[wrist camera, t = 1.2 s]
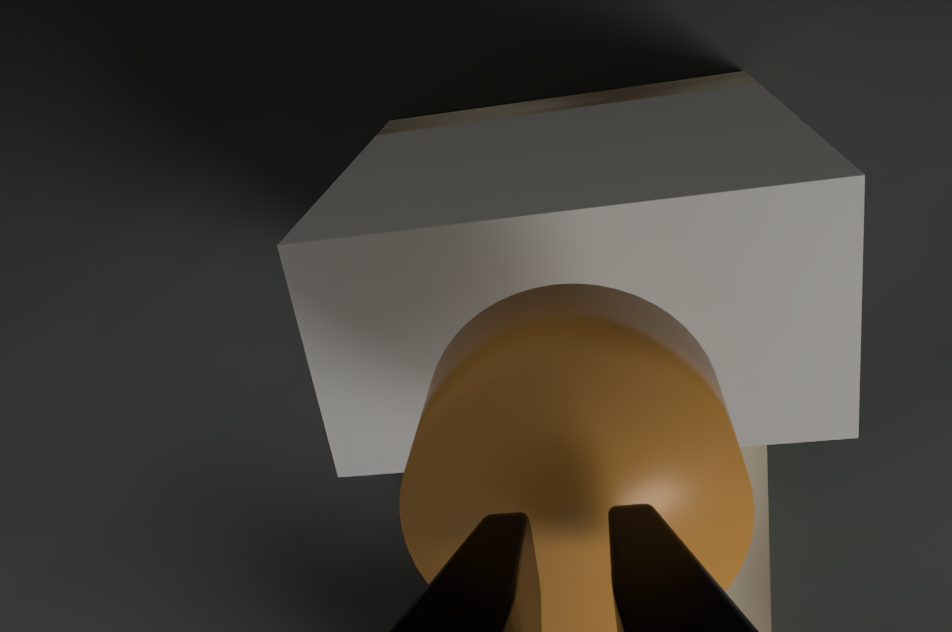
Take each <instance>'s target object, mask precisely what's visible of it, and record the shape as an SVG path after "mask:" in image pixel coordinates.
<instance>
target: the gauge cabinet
mask: <svg viewBox="0 0 952 632" xmlns="http://www.w3.org/2000/svg"><path fill="white" fill-rule="evenodd" d="M864 192H865V175H864V174H863V173H862V172H861V171H860V170H859V169H857V168H856V167H855V166H854V165H853V164H852V163H850V162H849V161H848V160H847V159H846V158H845V157H844V156H842V155H841V154H840V153H839V152H838V151H837V150H835V149H834V148H833V147H832V146H831V145H830V144H828V143H827V142H826V141H825V140H824V139H823V138H821V137H820V136H819V135H818V134H817V133H816V132H814V131H813V130H812V129H811V128H810V127H809V126H808V125H806V124H805V123H804V122H803V121H802V120H801V119H799V118H798V117H797V116H796V115H795V114H794V113H792V112H791V111H790V110H789V109H788V108H787V107H785V106H784V105H783V104H782V103H781V102H780V101H778V100H777V99H776V98H775V97H774V96H773V95H771V94H770V93H769V92H768V91H767V90H766V89H765V88H763V87H762V86H761V85H760V84H759V83H752V84H745V85H737V86H730V87H723V88H716V89H708V90H701V91H694V92H687V93H679V94H672V95H665V96H658V97H650V98H643V99H636V100H629V101H621V102H614V103H607V104H600V105H592V106H585V107H578V108H571V109H563V110H556V111H549V112H542V113H534V114H527V115H520V116H513V117H505V118H498V119H491V120H484V121H476V122H469V123H462V124H455V125H447V126H440V127H433V128H426V129H418V130H411V131H404V132H397V133H389V134H382V135H376V136H375V137H374V138H373V139H372V141H371V142H370V143H369V144H368V145H367V146H366V147H365V148H364V149H363V151H362V152H361V153H360V154H359V155H358V156H357V157H356V158H355V159H354V161H353V162H352V163H351V164H350V165H349V166H348V167H347V168H346V169H345V171H344V172H343V173H342V174H341V175H340V176H339V177H338V178H337V179H336V181H335V182H334V183H333V184H332V185H331V186H330V187H329V188H328V189H327V191H326V192H325V193H324V194H323V195H322V196H321V197H320V198H319V199H318V201H317V202H316V203H315V204H314V205H313V206H312V207H311V208H310V209H309V211H308V212H307V213H306V214H305V215H304V216H303V217H302V218H301V219H300V221H299V222H298V223H297V224H296V225H295V226H294V227H293V228H292V229H291V231H290V232H289V233H288V234H287V235H286V236H285V237H284V238H283V239H282V241H281V242H280V243H279V244H278V245H277V247H278V251H279V255H280V258H281V262H282V266H283V270H284V274H285V277H286V281H287V285H288V289H289V292H290V296H291V300H292V304H293V308H294V311H295V315H296V319H297V323H298V327H299V330H300V334H301V338H302V342H303V346H304V349H305V353H306V357H307V361H308V365H309V368H310V372H311V376H312V380H313V384H314V387H315V391H316V395H317V399H318V403H319V406H320V410H321V414H322V418H323V422H324V425H325V429H326V433H327V437H328V441H329V444H330V448H331V452H332V456H333V460H334V463H335V467H336V471H337V475H338V477H349V476H362V475H376V474H389V473H402V472H404V470H405V467H406V464H407V460H408V457H409V454H410V450H411V447H412V444H413V440H414V437H415V434H416V430H417V427H418V424H419V420H420V417H421V414H422V410H423V407H424V404H425V400H426V397H427V394H428V390H429V387H430V384H431V381H432V378H433V375H434V372H435V369H436V366H437V364H438V362H439V360H440V358H441V356H442V354H443V352H444V350H445V349H446V347H447V346H448V344H449V343H450V342H451V340H452V339H453V337H454V336H455V335H456V334H457V333H458V332H459V331H460V330H461V329H462V328H463V327H464V325H465V324H466V323H467V322H469V321H470V320H471V319H472V318H474V317H475V316H476V315H477V314H479V313H480V312H481V311H483V310H484V309H486V308H488V307H489V306H491V305H493V304H494V303H496V302H498V301H500V300H502V299H505V298H507V297H509V296H511V295H514V294H516V293H519V292H523V291H526V290H529V289H533V288H537V287H543V286H549V285H555V284H575V283H576V284H590V285H599V286H604V287H609V288H614V289H618V290H621V291H624V292H627V293H630V294H633V295H636V296H638V297H641V298H643V299H645V300H647V301H649V302H651V303H653V304H655V305H657V306H658V307H660V308H661V309H663V310H664V311H666V312H667V313H669V314H670V315H672V316H673V317H674V318H675V319H676V320H678V321H679V322H680V323H681V324H682V325H683V326H685V327H686V328H687V330H688V331H689V332H690V333H691V334H692V335H693V336H694V337H695V339H696V340H697V341H698V342H699V344H700V345H701V347H702V348H703V350H704V351H705V353H706V354H707V356H708V358H709V360H710V362H711V364H712V366H713V368H714V371H715V373H716V376H717V379H718V382H719V385H720V388H721V392H722V395H723V398H724V401H725V404H726V407H727V410H728V413H729V416H730V419H731V422H732V426H733V429H734V432H735V435H736V438H737V441H738V444H739V447H745V446H759V445H772V444H785V443H798V442H811V441H825V440H838V439H851V438H858V431H859V391H860V351H861V312H862V272H863V232H864Z"/></svg>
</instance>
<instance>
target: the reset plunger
mask: <svg viewBox="0 0 952 632" xmlns="http://www.w3.org/2000/svg"><path fill="white" fill-rule="evenodd" d="M632 504H649V505H651V506H653V507H654V508H655V509H656V510H657V512H658V513H659V514H660V515H661V516H662V518H663V519H664V520H665V521H666V522H667V523H668V525H669V526H670V527H671V528H672V529H673V531H674V532H675V533H676V534H677V535H678V536H679V538H680V539H681V540H682V541H683V542H684V544H685V545H686V546H687V547H688V548H689V550H690V551H691V552H692V553H693V554H694V555H695V557H696V558H697V559H698V560H699V561H700V563H701V564H702V565H703V566H704V567H705V568H706V570H707V571H708V572H709V573H710V574H711V576H712V577H713V578H714V579H715V580H716V582H717V583H718V584H719V585H720V586H721V587H722V589H723V590H724V591H726V589H727V588H728V587H729V586H730V584H731V583H732V582H733V580H734V579H735V577H736V575H737V573H738V572H739V570H740V568H741V567H742V565H743V562H744V560H745V557H746V555H747V552H748V550H749V547H750V543H751V538H752V534H753V529H754V512H755V507H754V499H753V490H752V486H751V483H750V479H749V476H748V472H747V469H746V466H745V463H744V460H743V457H742V453H741V450H740V447H739V444H738V441H737V438H736V435H735V432H734V429H733V426H732V422H731V419H730V416H729V413H728V410H727V407H726V404H725V401H724V398H723V395H722V392H721V388H720V385H719V382H718V379H717V376H716V373H715V371H714V368H713V366H712V364H711V362H710V360H709V358H708V356H707V354H706V353H705V351H704V350H703V348H702V347H701V345H700V344H699V342H698V341H697V340H696V339H695V337H694V336H693V335H692V334H691V333H690V332H689V331H688V330H687V328H686V327H685V326H683V325H682V324H681V323H680V322H679V321H678V320H676V319H675V318H674V317H673V316H672V315H670V314H669V313H667V312H666V311H664V310H663V309H661V308H660V307H658V306H657V305H655V304H653V303H651V302H649V301H647V300H645V299H643V298H641V297H638V296H636V295H633V294H630V293H627V292H624V291H621V290H618V289H614V288H609V287H604V286H599V285H590V284H576V283H575V284H555V285H549V286H543V287H537V288H533V289H529V290H526V291H523V292H519V293H516V294H514V295H511V296H509V297H507V298H505V299H502V300H500V301H498V302H496V303H494V304H493V305H491V306H489V307H488V308H486V309H484V310H483V311H481V312H480V313H479V314H477V315H476V316H475V317H474V318H472V319H471V320H470V321H469V322H467V323H466V324H465V325H464V327H463V328H462V329H461V330H460V331H459V332H458V333H457V334H456V335H455V336H454V337H453V339H452V340H451V342H450V343H449V344H448V346H447V347H446V349H445V350H444V352H443V354H442V356H441V358H440V360H439V362H438V364H437V366H436V369H435V372H434V375H433V378H432V381H431V384H430V387H429V390H428V394H427V397H426V400H425V404H424V407H423V410H422V414H421V417H420V420H419V424H418V427H417V430H416V434H415V437H414V440H413V444H412V447H411V450H410V454H409V457H408V460H407V464H406V467H405V470H404V474H403V478H402V484H401V490H400V520H401V526H402V532H403V535H404V538H405V542H406V545H407V548H408V551H409V553H410V555H411V557H412V559H413V561H414V563H415V565H416V567H417V568H418V570H419V571H420V573H421V574H422V576H423V577H424V579H425V580H426V582H427V583H428V584H429V583H430V582H431V581H432V579H433V578H434V577H435V576H436V575H437V573H438V572H439V571H440V570H441V569H442V567H443V566H444V565H445V564H446V563H447V561H448V560H449V559H450V558H451V556H452V555H453V554H454V553H455V552H456V550H457V549H458V548H459V547H460V546H461V544H462V543H463V542H464V541H465V540H466V538H467V537H468V536H469V535H470V534H471V532H472V531H473V530H474V529H475V528H476V526H477V525H478V524H479V523H480V521H481V520H482V519H483V518H484V517H485V516H487V515H489V514H498V513H513V512H523V513H525V514H526V515H527V516H528V518H529V520H530V525H531V530H532V536H533V543H534V549H535V555H536V561H537V567H538V573H539V580H540V590H541V621H542V632H617V624H616V616H615V608H614V599H613V591H612V582H611V566H610V544H609V523H608V511H609V510H610V508H611V507H613V506H618V505H632Z"/></svg>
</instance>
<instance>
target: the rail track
mask: <svg viewBox="0 0 952 632" xmlns="http://www.w3.org/2000/svg"><path fill="white" fill-rule="evenodd" d="M752 83H758V82H756V81H755V80H754V79H753V78H752V77H751V76H749V75H748V74H747V73H746V72H745V71H741V72H734V73H726V74H719V75H712V76H705V77H698V78H691V79H684V80H677V81H669V82H662V83H655V84H648V85H641V86H634V87H627V88H619V89H612V90H605V91H598V92H591V93H584V94H577V95H570V96H562V97H555V98H548V99H541V100H534V101H527V102H520V103H513V104H505V105H498V106H491V107H484V108H477V109H470V110H463V111H456V112H448V113H441V114H434V115H427V116H420V117H413V118H406V119H399V120H391V121H389V122H388V123H387V124H386V125H385V126H384V127H383V128H382V129H381V131H380V132H379V133H378V134H377V135H382V134H389V133H397V132H404V131H411V130H418V129H426V128H433V127H440V126H447V125H455V124H462V123H469V122H476V121H484V120H491V119H498V118H505V117H513V116H520V115H527V114H534V113H542V112H549V111H556V110H563V109H571V108H578V107H585V106H592V105H600V104H607V103H614V102H621V101H629V100H636V99H643V98H650V97H658V96H665V95H672V94H679V93H687V92H694V91H701V90H708V89H716V88H723V87H730V86H737V85H745V84H752ZM740 450H741V453H742V457H743V460H744V463H745V466H746V469H747V472H748V476H749V479H750V483H751V486H752V490H753V499H754V507H755V512H754V529H753V534H752V538H751V543H750V547H749V550H748V552H747V555H746V557H745V560H744V562H743V565H742V567H741V568H740V570H739V572H738V573H737V575H736V577H735V579H734V580H733V582H732V583H731V584H730V586H729V587H728V588H727V589H726V591H725V592H726V593H727V595H728V596H729V597H730V598H731V599H732V600H733V602H734V603H735V604H736V605H737V606H738V608H739V609H740V610H741V611H742V612H743V613H744V615H745V616H746V617H747V618H748V619H749V621H750V622H751V623H752V624H753V625H754V627H755V628H756V629H757V630H758V631H759V632H771V597H770V556H769V516H768V476H767V445H759V446H745V447H740Z"/></svg>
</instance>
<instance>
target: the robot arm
mask: <svg viewBox="0 0 952 632" xmlns="http://www.w3.org/2000/svg"><path fill="white" fill-rule="evenodd" d="M608 523H609V544H610V566H611V582H612V591H613V599H614V608H615V616H616V624H617V632H759V631H758V630H757V629H756V628H755V627H754V625H753V624H752V623H751V622H750V621H749V619H748V618H747V617H746V616H745V615H744V613H743V612H742V611H741V610H740V609H739V608H738V606H737V605H736V604H735V603H734V602H733V600H732V599H731V598H730V597H729V596H728V595H727V593H726V592H725V591H724V590H723V589H722V587H721V586H720V585H719V584H718V583H717V582H716V580H715V579H714V578H713V577H712V576H711V574H710V573H709V572H708V571H707V570H706V568H705V567H704V566H703V565H702V564H701V563H700V561H699V560H698V559H697V558H696V557H695V555H694V554H693V553H692V552H691V551H690V550H689V548H688V547H687V546H686V545H685V544H684V542H683V541H682V540H681V539H680V538H679V536H678V535H677V534H676V533H675V532H674V531H673V529H672V528H671V527H670V526H669V525H668V523H667V522H666V521H665V520H664V519H663V518H662V516H661V515H660V514H659V513H658V512H657V510H656V509H655V508H654V507H653V506H651V505H649V504H632V505H618V506H613V507H611V508H610V510H609V511H608ZM389 632H542V621H541V590H540V580H539V573H538V567H537V561H536V555H535V549H534V543H533V536H532V530H531V525H530V520H529V518H528V516H527V515H526V514H525V513H523V512H513V513H498V514H489V515H487V516H485V517H484V518H483V519H482V520H481V521H480V523H479V524H478V525H477V526H476V528H475V529H474V530H473V531H472V532H471V534H470V535H469V536H468V537H467V538H466V540H465V541H464V542H463V543H462V544H461V546H460V547H459V548H458V549H457V550H456V552H455V553H454V554H453V555H452V556H451V558H450V559H449V560H448V561H447V563H446V564H445V565H444V566H443V567H442V569H441V570H440V571H439V572H438V573H437V575H436V576H435V577H434V578H433V579H432V581H431V582H430V583H429V584H428V585H427V587H426V588H425V589H424V590H423V592H422V593H421V594H420V595H419V596H418V598H417V599H416V600H415V601H414V602H413V604H412V605H411V606H410V607H409V608H408V610H407V611H406V612H405V613H404V614H403V616H402V617H401V618H400V619H399V621H398V622H397V623H396V624H395V625H394V627H393V628H392V629H391V630H390V631H389Z"/></svg>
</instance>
